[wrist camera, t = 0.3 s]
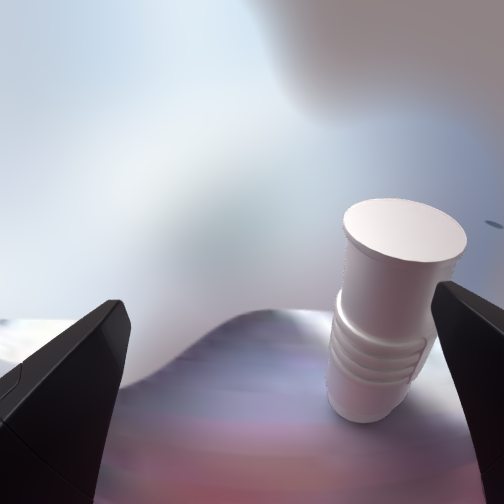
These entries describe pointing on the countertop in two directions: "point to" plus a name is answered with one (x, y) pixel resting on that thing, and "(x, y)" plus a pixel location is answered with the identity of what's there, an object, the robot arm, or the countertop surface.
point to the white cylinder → (387, 303)
